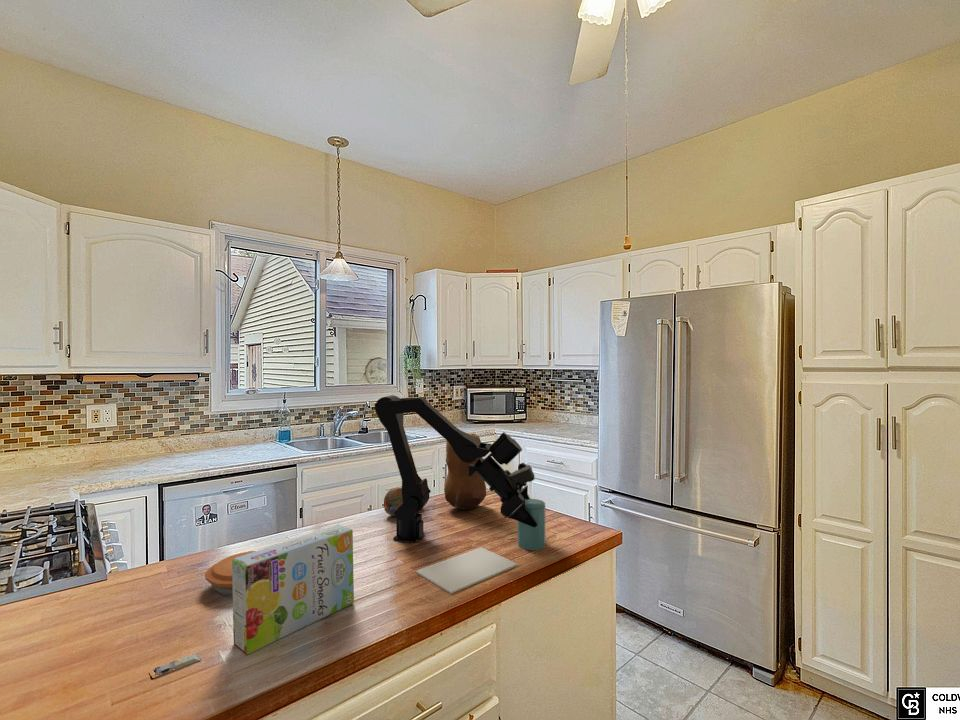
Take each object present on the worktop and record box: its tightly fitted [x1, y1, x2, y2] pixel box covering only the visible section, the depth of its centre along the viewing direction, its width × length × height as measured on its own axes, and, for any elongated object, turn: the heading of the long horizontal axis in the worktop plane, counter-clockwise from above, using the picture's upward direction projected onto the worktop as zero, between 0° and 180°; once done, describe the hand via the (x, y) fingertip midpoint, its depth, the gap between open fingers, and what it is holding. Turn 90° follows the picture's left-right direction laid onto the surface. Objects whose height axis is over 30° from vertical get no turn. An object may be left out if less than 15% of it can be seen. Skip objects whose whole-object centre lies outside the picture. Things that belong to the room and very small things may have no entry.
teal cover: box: [517, 498, 546, 551], centre depth 123 cm, size 7×7×11 cm
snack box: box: [232, 524, 355, 655], centre depth 87 cm, size 21×6×15 cm, turn 141°
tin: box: [383, 485, 403, 517], centre depth 149 cm, size 15×3×8 cm, turn 143°
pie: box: [204, 550, 256, 597], centre depth 102 cm, size 16×16×5 cm
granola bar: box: [152, 653, 202, 676], centre depth 74 cm, size 7×2×1 cm, turn 133°
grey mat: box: [415, 546, 519, 595], centre depth 109 cm, size 20×13×1 cm, turn 132°
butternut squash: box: [443, 432, 487, 511], centre depth 152 cm, size 14×13×25 cm
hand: (536, 519), depth 123 cm, fingers open, 9 cm apart
